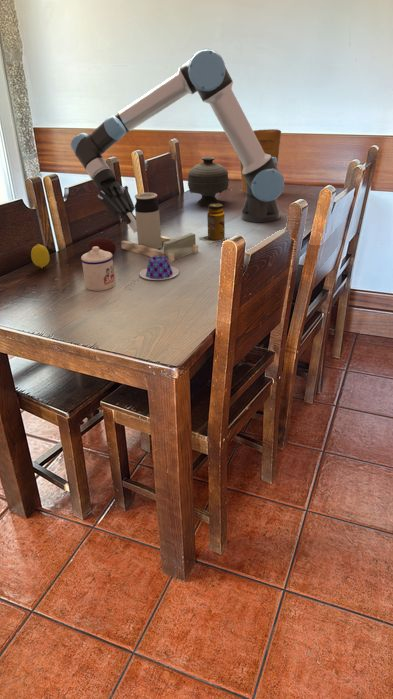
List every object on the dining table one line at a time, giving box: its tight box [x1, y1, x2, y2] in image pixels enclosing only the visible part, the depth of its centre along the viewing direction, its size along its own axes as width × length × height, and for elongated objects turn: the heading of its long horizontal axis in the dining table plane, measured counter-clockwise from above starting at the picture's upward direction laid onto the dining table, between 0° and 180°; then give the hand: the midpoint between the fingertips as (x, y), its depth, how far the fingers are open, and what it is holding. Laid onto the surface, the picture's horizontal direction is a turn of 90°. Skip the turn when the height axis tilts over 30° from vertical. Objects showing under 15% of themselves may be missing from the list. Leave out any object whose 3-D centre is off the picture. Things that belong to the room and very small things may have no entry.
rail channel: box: [120, 232, 199, 263], centre depth 180 cm, size 24×13×6 cm, turn 48°
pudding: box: [139, 256, 180, 281], centre depth 160 cm, size 12×12×5 cm
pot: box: [187, 156, 229, 207], centre depth 231 cm, size 18×18×20 cm
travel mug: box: [134, 192, 163, 250], centre depth 179 cm, size 8×8×18 cm
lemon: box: [30, 243, 50, 269], centre depth 168 cm, size 6×6×8 cm
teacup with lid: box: [80, 246, 116, 292], centre depth 153 cm, size 12×9×12 cm
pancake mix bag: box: [238, 128, 282, 194], centre depth 242 cm, size 7×19×28 cm, turn 74°
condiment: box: [199, 203, 230, 244], centre depth 187 cm, size 7×8×12 cm
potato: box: [87, 236, 117, 255], centre depth 177 cm, size 7×10×6 cm
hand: (137, 229), depth 184 cm, fingers closed
